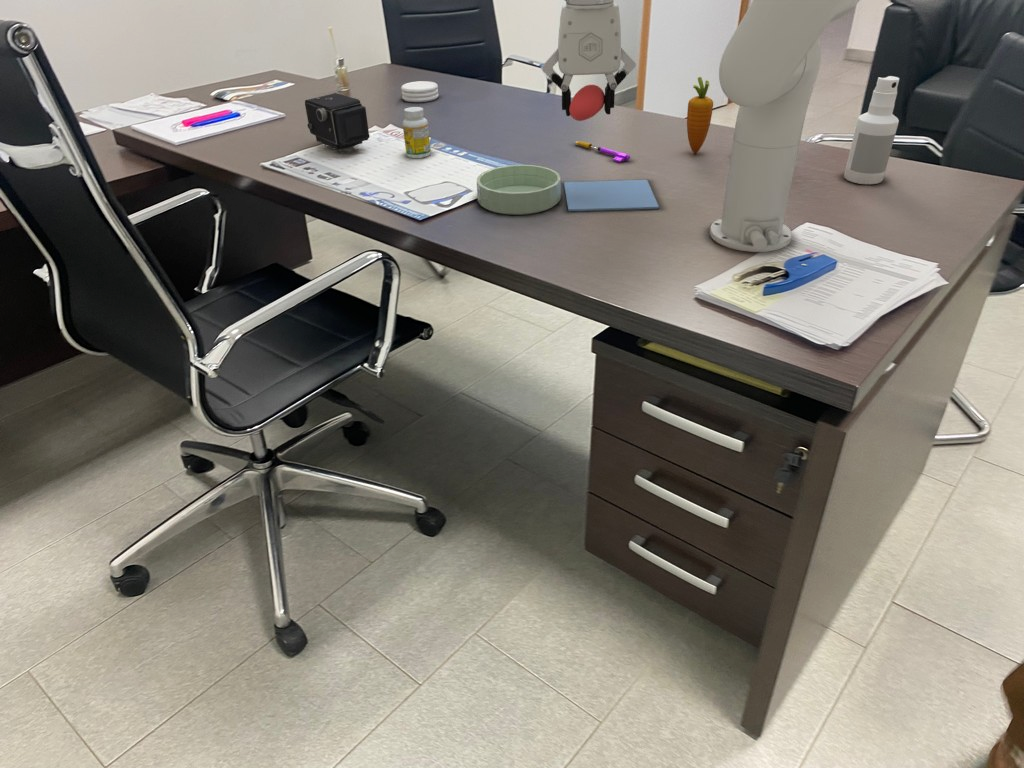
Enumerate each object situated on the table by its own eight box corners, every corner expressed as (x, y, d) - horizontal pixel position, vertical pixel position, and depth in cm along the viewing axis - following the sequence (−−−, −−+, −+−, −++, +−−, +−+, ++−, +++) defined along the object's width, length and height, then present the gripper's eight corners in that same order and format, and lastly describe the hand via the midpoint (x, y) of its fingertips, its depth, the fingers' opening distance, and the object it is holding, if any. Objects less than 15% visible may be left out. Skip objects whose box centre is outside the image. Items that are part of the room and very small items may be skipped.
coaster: (445, 96, 199) (444, 82, 197) (423, 104, 192) (422, 90, 190) (417, 92, 203) (416, 79, 201) (394, 100, 196) (393, 87, 194)
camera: (307, 152, 164) (341, 160, 154) (294, 100, 158) (328, 104, 148) (346, 142, 169) (382, 148, 159) (335, 90, 164) (371, 94, 154)
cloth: (658, 208, 127) (659, 206, 127) (568, 211, 127) (568, 209, 127) (646, 181, 138) (647, 179, 138) (563, 184, 139) (563, 182, 138)
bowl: (562, 214, 126) (562, 192, 124) (476, 216, 127) (474, 194, 124) (558, 184, 139) (558, 163, 136) (479, 186, 139) (478, 165, 137)
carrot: (707, 157, 149) (716, 81, 140) (682, 157, 150) (690, 80, 141) (706, 150, 153) (716, 75, 144) (683, 149, 154) (690, 75, 145)
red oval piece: (617, 120, 125) (611, 83, 125) (592, 113, 118) (586, 74, 117) (591, 129, 128) (585, 93, 128) (566, 122, 121) (559, 84, 120)
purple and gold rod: (631, 159, 149) (578, 143, 159) (630, 154, 148) (577, 138, 158) (622, 165, 148) (569, 148, 158) (621, 159, 147) (568, 143, 157)
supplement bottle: (433, 156, 155) (428, 110, 149) (408, 159, 154) (403, 113, 148) (428, 149, 159) (423, 104, 154) (404, 152, 158) (398, 107, 152)
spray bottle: (859, 187, 132) (885, 84, 122) (836, 175, 138) (859, 75, 127) (890, 182, 134) (919, 80, 123) (866, 171, 139) (892, 72, 129)
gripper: (536, 1, 111) (538, 121, 121) (648, -4, 110) (641, 116, 121) (534, -5, 117) (537, 109, 127) (640, -10, 117) (634, 105, 127)
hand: (587, 112), depth 124 cm, fingers closed on red oval piece, 6 cm apart
